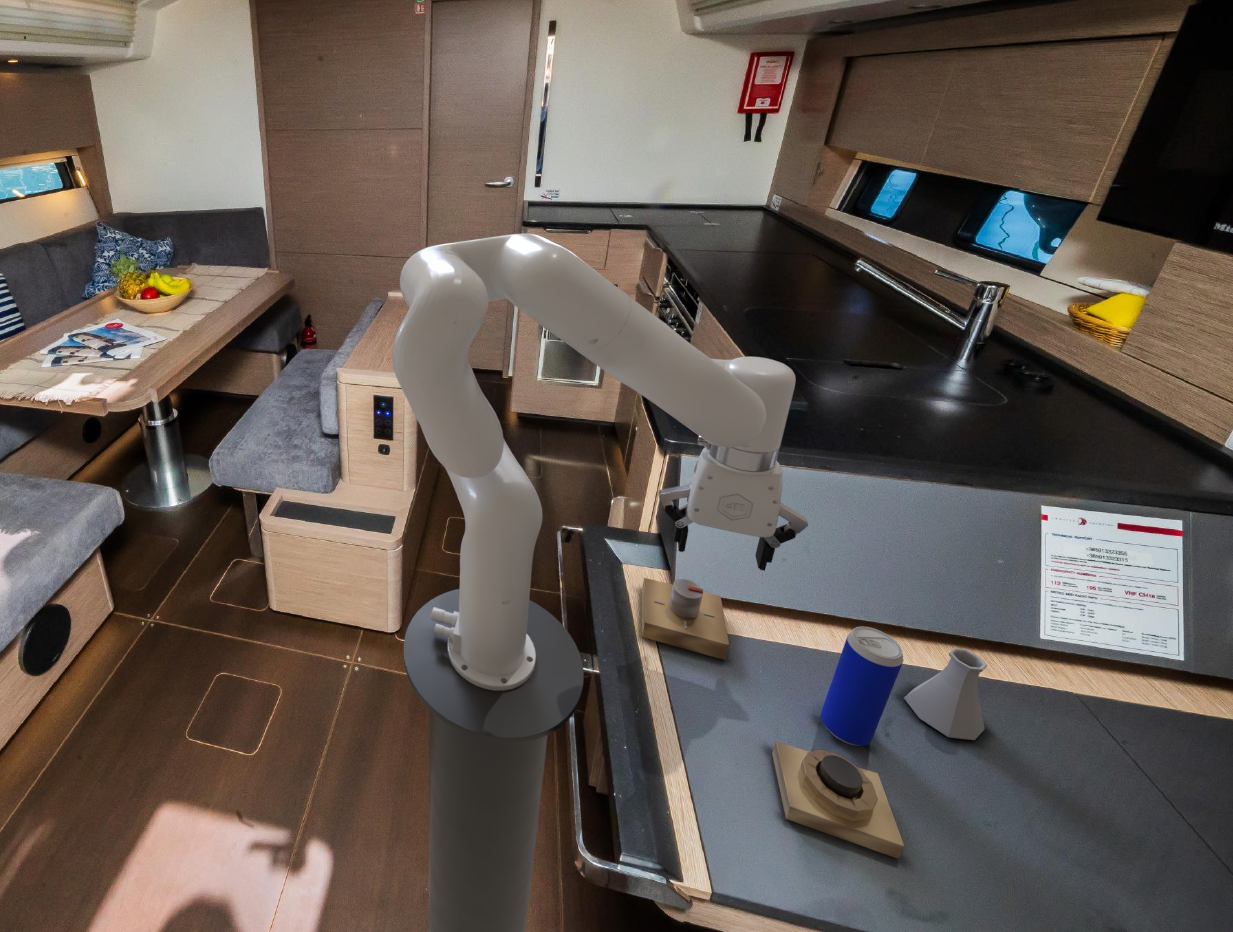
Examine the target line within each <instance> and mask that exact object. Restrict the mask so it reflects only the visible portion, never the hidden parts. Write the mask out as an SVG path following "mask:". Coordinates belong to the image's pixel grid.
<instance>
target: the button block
mask: <svg viewBox="0 0 1233 932" xmlns="http://www.w3.org/2000/svg"><path fill="white" fill-rule="evenodd" d="M771 754H772V759H773V763H774V769H775V774H776V778H777V783H778V787H779V792H780V797H781V803H782V807H783V811H784V816H785V819H786V820H788V821H791V822H793V823H796V824H799V825H802V826H805V827H808V828H811V829H814V830H817V831H819V832H822V833H824V834H827V835H830V836H833V837H835V838H839V839H841V840H844V841H847V842H850V843H852V844H856V845H858V846H860V847H864V848H866V849H869V850H873V851H874V852H878V853H881V854H883V855H886V856H889V857H891V858H895V859H897V860H898V859H899V858H900V856H901V855H902V853H903V850H904V849H905V844H904V841H903V838H902V835H901V833H900V830H899V827H898V825H897V822H896V819H895V816H894V814H893V811H892V807H891V805H890V802H889V800H888V797H887V794H886V791H885V789H884V786H883V784H882V780H881V778H880V775H879V773H878V772H875V771H871V770H868V769H865V768H862V767H859V766H857V765H855V764H854V763H853V762H851V761H849V760H848V759H846V758H845V757H844V756H843V755H840V754H838V753H834V752H831V751H829V750H828V751H827V750H824V749H818V750H812V751H808V750H805V749H803V748H802V749H801V748H798V747H795V746H792V745H789V744H786V743H782V742H779V741H775V742H774V746H773V749H772V753H771ZM828 755H834V756H838V757H841V758H843V759H845V760H847V761H848V762H850V763H851V764H852V765H853V766H854V767H855V768H856V769H857V770H858V771H859V772H860V774H861V776H862V779H863V784H862V787H861V789H860V792H859V794H858V796H857V797H855V798H845V797H842V796H839V795H837V794H836V793H834V792H833V791H831V790H830V789H829V788H827V787H826V786H825V784H824V783H823V782H822V780H821V779H820V776H819V768H820V765H821V762H822V760H823V758H824V757H825V756H828Z"/></svg>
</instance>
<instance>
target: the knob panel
mask: <svg viewBox="0 0 1233 932" xmlns="http://www.w3.org/2000/svg"><path fill="white" fill-rule="evenodd" d="M672 587H673V583H668V582H664V581H660V580H655V579H651V578H647V577H643V580H642V587H641V634H642V635H641V637H642V638H643V639H647V640H651V641H655V642H658V643H661V644H666V645H670V646H673V647H677V648H680V649H684V650H688V651H691V652H694V653H698V654H701V655H706V656H710V657H713V658H716V659H720V660H724V661H726V660H727V655H728V651H729V648H730V641H729V635H728V630H727V624H726V623H727V622H726V617H725V613H724V608H723V601H722V597H721V595H717V594H713V593H709V592H705V591H703V596H702V601H701V605H700V610H699V614H698V616H697V617H696V618H693V619H687V618H683V617H680V616H678V615H677V614H675V613H674V612H673V611H672V610H671V608H670V606H669V603H670V598H671V593H672Z"/></svg>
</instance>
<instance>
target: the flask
mask: <svg viewBox="0 0 1233 932" xmlns="http://www.w3.org/2000/svg"><path fill="white" fill-rule="evenodd" d="M948 657H950V659H949V661H948V663H947V665H946V666H945V667H944V668H943V669H942V671H939V672H938V673H937V674H935V675H934V676H932V677H931V678H928V679H927V680H926V681H924V682H922V683H921V684H919V685H917V686H915V687H914V688H913V689H912V690H911V691H910V692H909V693H907V695H906V696H904V697H903V699H904V700H905V701H906V703H907V704H908V706H910V708H911V709H912V710H913V712H914V713H915V714H916V716H917V717H918V719H919V720H921V721H923V722H925V724H927V725H929V726H931V727H932V728H933V729H935V730H937V731H938V732H940V733H941V734H943V735H944V736H946V737H947V738H952V739H960V740H968V741H969V740H970V741H971V740H972V741H976V739H977V738H978V737H979V736H980V735H981V734H982V733H983V732H984V731H985V730H986V728H985V723H984V722H985V721H984V718H983V713H982V708H981V703H980V697H979V691H978V690H979V689H978V684H979V676H980V673H982V672H983V671H984V670H985V669H987V667H988V664H987V663H986V662H985V661H984V660H983V659H982V657H980V655H978V654H976V653H974V652H972V651H970V650H969V649H966V648H958V647H953V648H952V649H951V650H950V651H949V652H948Z"/></svg>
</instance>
